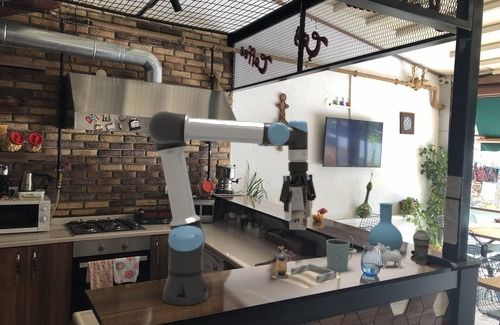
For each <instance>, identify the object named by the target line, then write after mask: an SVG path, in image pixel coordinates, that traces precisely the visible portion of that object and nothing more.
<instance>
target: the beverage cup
mask: <svg viewBox="0 0 500 325" xmlns="http://www.w3.org/2000/svg"><path fill="white" fill-rule="evenodd" d="M418 226H419V227H418V229H419V230H416V231H415V232H414V233H413V236H412V241H413V246H414V247H413V249H414V251H413V252H414V261H415V262H414V263H415V264H416V265H417V266H426V265H427V261H428V254H429V245H430V240H431V238H430V235H429V233H428V232H427V231H425V230H423V229H422V228H421V220H420V219H419V220H418Z"/></svg>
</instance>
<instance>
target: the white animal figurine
mask: <svg viewBox="0 0 500 325" xmlns="http://www.w3.org/2000/svg"><path fill="white" fill-rule="evenodd" d="M375 247H376V248H378V249H379V250H380V252H381V261H382V265H381V266H380V267H382V269H384V270H385V269H386V268H387V264H388V263H389V262H390V263H391V262H392V263H393V265H392V266H393V267H397V268H396V269H399V270H400V269H401V263H402V258H403V255H402V254H401V251H400V250H394V251H390V247H389V246H387V247H386V248H385V246H384V245H382V244H380V243H378V246H375ZM387 248H388V249H387Z"/></svg>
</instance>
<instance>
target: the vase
mask: <svg viewBox="0 0 500 325" xmlns="http://www.w3.org/2000/svg"><path fill="white" fill-rule="evenodd" d="M378 205H379V222H378V223H377V224H375V225H374V226H373V227H372V228H371V230H370V231H369V234H368V243H369V245H370V247H371V246H378V243H380V244H382V245H384V246H385V248H386V247H387V246H389V247H390V251H394V250H399V251H400V249H402V246H403V236H402V233H401V231H400V229H398V228H397V227H396V226H395V225H394V224H393V222H392V221H393V220H392V219H393V217H392V216H393V205H394V204H393V203H389V202H379V203H378ZM387 249H388V248H387Z"/></svg>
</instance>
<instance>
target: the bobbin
mask: <svg viewBox="0 0 500 325" xmlns="http://www.w3.org/2000/svg"><path fill="white" fill-rule="evenodd" d="M275 258H276V273H275V274H274V276H275V277H276V278H275V279H277V278H281V279H284V278H287V277H288V274H286V273H287V272H288V271H287V269H288V268H287V266H288V260H287V259H288V258H289V254H287V253H282V252H281V253H280V252H279V253H276V254H275Z"/></svg>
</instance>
